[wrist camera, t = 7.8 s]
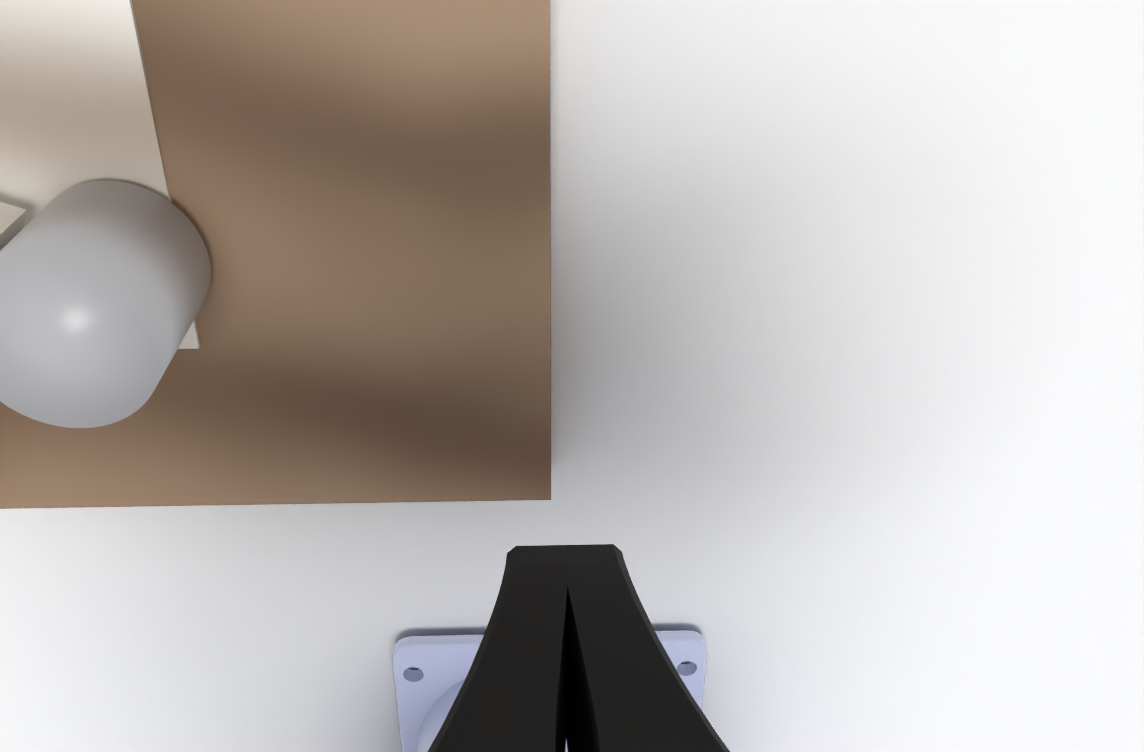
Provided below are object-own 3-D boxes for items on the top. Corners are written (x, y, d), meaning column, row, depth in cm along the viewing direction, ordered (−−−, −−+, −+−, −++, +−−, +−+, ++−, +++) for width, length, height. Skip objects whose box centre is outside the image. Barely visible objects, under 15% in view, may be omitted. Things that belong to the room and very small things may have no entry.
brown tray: (549, 467, 25) (551, 505, 23) (-228, 479, 24) (-267, 518, 23) (547, -550, 15) (549, -574, 14) (-727, -576, 15) (-839, -603, 13)
